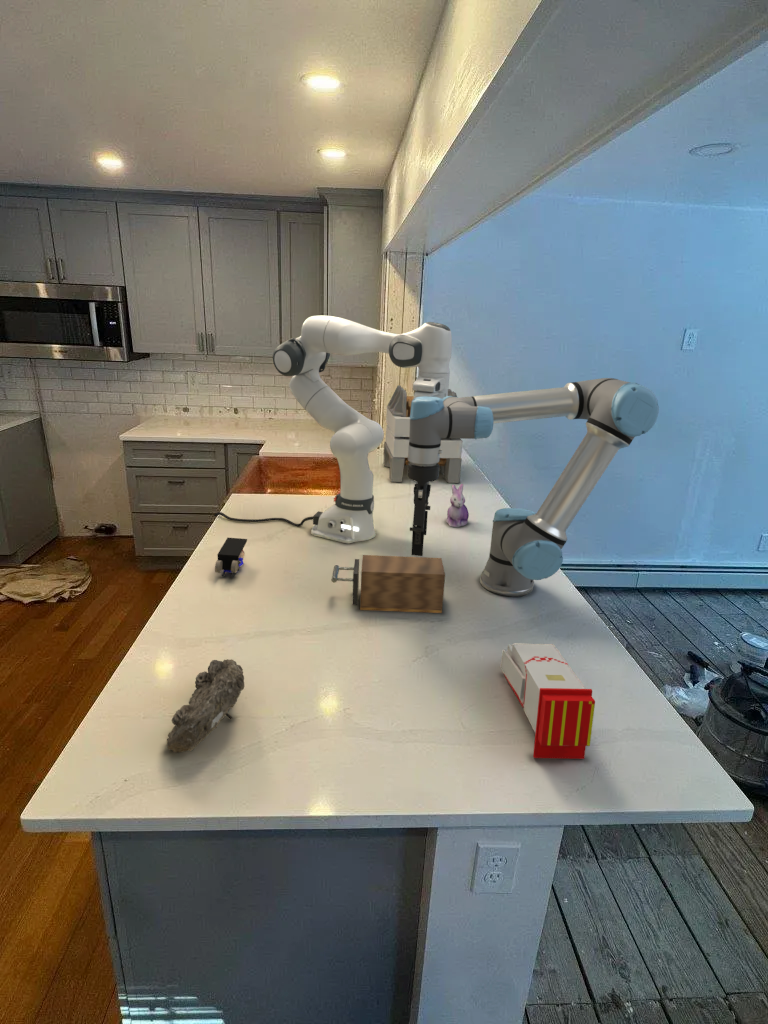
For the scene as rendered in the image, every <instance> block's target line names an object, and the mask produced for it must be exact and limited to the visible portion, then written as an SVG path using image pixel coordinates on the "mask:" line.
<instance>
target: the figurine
mask: <svg viewBox="0 0 768 1024" xmlns="http://www.w3.org/2000/svg"><path fill="white" fill-rule="evenodd" d="M463 491H464V483H461V484H460V485H459V487H456V485H455V484H452V485H451V496H450V500H449V501H450V506H449V507H448V508H447V514H446V516H447V517H446V523H447V525H448V526H449V527H454V528H460V527H464V526H466V525H468V521H469V517H470V516H469V510H468V507H467V506H466V504H465V503H466V498H465V496H464V492H463Z"/></svg>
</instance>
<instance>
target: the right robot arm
mask: <svg viewBox="0 0 768 1024" xmlns="http://www.w3.org/2000/svg"><path fill="white" fill-rule="evenodd" d="M659 412H660V407H659V400H658V398H657V396H656V394H655V393H654V392H653V390H651V389H650V388H649V387H647V386H645V385H642V384H640V383H638V382H631V381H626V380H625V381H624V380H621V379H618V378H613V377H602V378H595V379H594V378H593V379H587V380H580V381H573V382H567V383H566V384H565V385H564V386H563V387H553V388H542V389H541V388H540V389H531V390H522V391H513V392H502V393H501V392H500V393H492V394H482V395H472V396H461V397H458V396H457V397H455V396H447V397H444V398H443V399H441V398H438V397H429V396H422V397H416V398H414V399H413V400H412V403H411V412H410V432H409V446H408V461H409V463H408V466H407V475H406V476H407V478H408V479H409V480H411V481H414V482H416V483H414V486H413V504H414V505H413V506H414V508H413V518H412V519H413V520H412V527H409V531H410V532H411V533H412V535H411V553H410V554H411V556H413V557H424V540H425V536H427V530H428V529H427V528H428V515H429V514H428V512H429V511H431V505H429V498H430V494H431V490H432V489H431V488H432V485H431V484H429V483H432V482H433V483H434V482H436V481H437V480H438V479H439V477H440V476H439V474H440V471H439V465H438V462H439V458H440V455H439V454H442V453H443V451H442V450H439V449H440V446H441V439H442V438H445V439H448V438H455V439H461V440H463V439H465V440H466V439H467V440H468V439H469V440H471V439H473V440H478V439H479V440H480V439H487V438H490V437H491V435H492V434H493V433H492V432H493V430H494V424H502V423H503V424H504V423H513V422H521V421H531V420H541V419H542V420H543V419H552V418H561V417H562V418H563V417H565V418H566V419H568V420H570V421H571V420H586V422H585V427H586V433H585V435H584V437H583V439H582V440H581V442H580V443H579V445H578V446H577V448H576V450H575V451H574V453H573V454H572V455H571V458H570V459H569V460H568V462H567V464H566V465H565V467H564V469H563V470H562V471H561V473H560V475H559V476H558V479H557V480H556V481H555V483H554V485H553V486H552V488H551V489H550V491H549V493H548V494H547V496H546V498H545V499H544V501H543V502H542V504H541V505H540V507H539V508H538V510H537V512H535V511H532V510H530V509H525V508H518V507H505V508H499V509H497V510H496V511H495V512H494V515H493V520H492V528H491V536H490V537H491V539H490V548H489V557H488V559H487V561H486V563H485V565H484V568H483V570H482V572H481V574H480V579H479V582H480V585H481V586H482V587H483V588H485V589H486V590H487V591H489V592H490V593H493V594H496V595H499V596H504V597H522V596H526V595H529V594H530V593H532V592H533V590H534V584H535V581H541V580H544V579H548V578H551V577H552V576H554V575H555V574H556V573H557V572H558V571H559V570H560V568H561V567H562V565H563V561H564V557H563V551H562V549H563V548H564V546H565V545H566V543H567V542H568V535H567V530H568V529H569V527H570V525H571V524H572V523H573V521H574V519H575V518H576V517H577V515H578V513H579V512H580V510H581V508H582V507H583V506H584V504H585V502H586V501H587V499H588V498H589V496H590V495H591V493H592V492H593V490H594V489H595V487H596V485H597V484H598V482H599V481H600V479H601V478H602V477H603V475H604V473H605V472H606V471H607V469H608V467H609V466H610V464H611V462H612V461H613V459H614V458H615V457H616V455H617V453H618V452H619V450H621V449H624V448H628V447H629V446H630V445H631V443H632V442H633V440H634V439H635V437H640V436H642V435H644V434H647V433H648V432H650V431H651V429H652V428H654V426H655V424H656V422H657V420H658V418H659Z"/></svg>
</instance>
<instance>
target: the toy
mask: <svg viewBox="0 0 768 1024" xmlns="http://www.w3.org/2000/svg"><path fill="white" fill-rule="evenodd" d="M499 667H500V670H501V671H502V673H503V676H504V677H505V680H506V681H507V683H508V685H509V686H510V689H511V690H512V691H513V694H514V695H515V697H516V698H517V701H518V702H519V704H520V706H521V708H523V711H524V713H525V715H526V719H528V723H530V726H531V728H532V730H533V732H534V734H535V735H534V744H533V759H566V760H567V759H571V760H572V759H574V760H575V759H577V760H578V759H580V760H584V759H585V755H586V748H587V747H590V746H591V739H592V733H593V731H592V730H593V723H594V716H595V706H596V700H595V699H594V697H593V689H592V688H586V686H585V685H584V684H583V682H582V681H581V680H580V678H579V677H578V676H577V674H576V673H575V672H574V670H573V669H572V667H571V666H570V665H569V663H568V662H567V660H566V659H565V658H564V656H563V655H562V654H561V652H560V650H559V649H558V648H556V645H554V643H519V642H518V643H514V642H512V644H507V650H506V649H502V652H501V660H500V666H499Z"/></svg>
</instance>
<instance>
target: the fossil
mask: <svg viewBox="0 0 768 1024" xmlns="http://www.w3.org/2000/svg"><path fill="white" fill-rule="evenodd" d="M243 670H244V669H243V667H242V665H240V664H237V662H236V661H235V660H234V659H232V658H231V659H227V658H226V659H224V660H223V661H222V660H217V659H212V660H211V661H210V663H209V665H208V666H207V671H201V672H199V673H198V674H197V675H196V676H195V680H194V684H195V685H194V687H195V689H194V690H193V693H192V694H191V697H190V698H189V700H188V704H184V705H182V706H181V707H180V709H177V710H176V711H175V713H174V715H173V716H172V718H171V723H172V724H173V727H172V730H171V731H170V732H168V734H167V738H166V741H167V742H166V745H167V749H168V750H169V751H173V752H174V753H176V754H178V753H182V752H188V751H189V752H192V751H193V750H195V748H196V747H197V746H199V744H200V743H201V742H203V741H204V740H205V739H206V738H207V737H208V736H209V735H210V734H211V733H212V732H214V730H215V729H217V727H218V726H219V724H220V722H221V721H222V720H223V719H224V718H225V716H226V717H227V719H229V720H233V717H232V715H230V714H229V710H230V709H231V708H234V706H235V704H236V703H237V702H238V699H239V697H240V695H241V693H242V691H243V690H245V689H244V688H245V675H244V671H243Z"/></svg>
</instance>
